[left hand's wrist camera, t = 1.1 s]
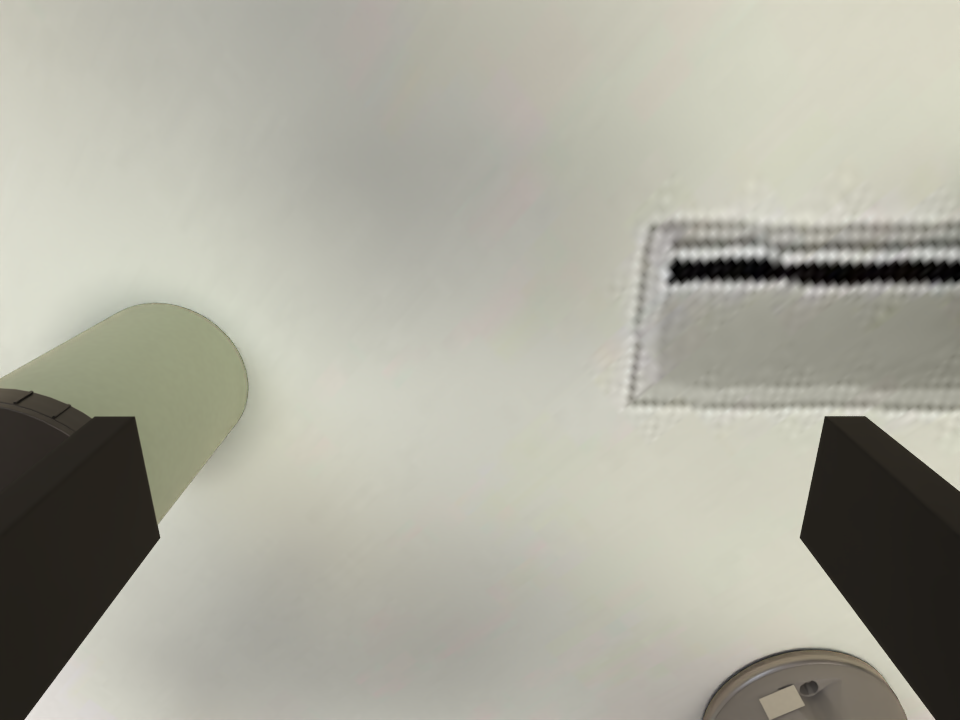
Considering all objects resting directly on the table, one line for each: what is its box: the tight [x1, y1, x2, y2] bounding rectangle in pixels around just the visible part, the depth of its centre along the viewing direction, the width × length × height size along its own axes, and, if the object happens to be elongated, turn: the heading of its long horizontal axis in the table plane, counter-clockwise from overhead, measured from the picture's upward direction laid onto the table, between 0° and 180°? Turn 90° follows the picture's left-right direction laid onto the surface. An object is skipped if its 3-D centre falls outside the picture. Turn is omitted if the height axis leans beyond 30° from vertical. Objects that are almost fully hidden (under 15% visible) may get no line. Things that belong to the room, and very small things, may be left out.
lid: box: [0, 388, 92, 491], centre depth 28 cm, size 11×11×2 cm
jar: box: [0, 303, 248, 525], centre depth 35 cm, size 10×10×15 cm
